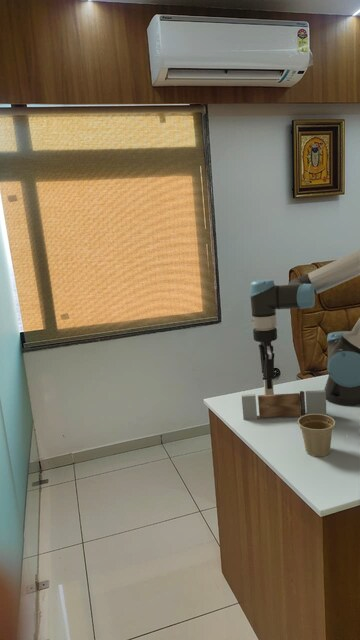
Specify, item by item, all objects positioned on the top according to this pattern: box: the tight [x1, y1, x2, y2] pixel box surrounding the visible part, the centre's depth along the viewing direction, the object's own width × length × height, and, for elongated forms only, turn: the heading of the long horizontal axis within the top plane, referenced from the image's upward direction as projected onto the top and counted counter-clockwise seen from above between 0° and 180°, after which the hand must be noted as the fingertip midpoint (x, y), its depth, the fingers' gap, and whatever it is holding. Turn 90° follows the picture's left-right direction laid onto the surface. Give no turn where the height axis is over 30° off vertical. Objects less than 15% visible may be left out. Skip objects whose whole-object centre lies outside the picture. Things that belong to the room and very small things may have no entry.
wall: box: [241, 389, 328, 421], centre depth 132 cm, size 26×2×8 cm, turn 83°
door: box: [257, 390, 307, 417], centre depth 132 cm, size 14×2×8 cm, turn 83°
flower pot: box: [297, 414, 336, 457], centre depth 110 cm, size 9×9×9 cm
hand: (269, 396), depth 138 cm, fingers closed
